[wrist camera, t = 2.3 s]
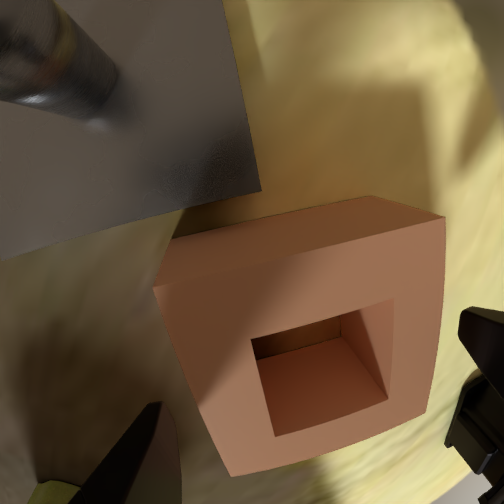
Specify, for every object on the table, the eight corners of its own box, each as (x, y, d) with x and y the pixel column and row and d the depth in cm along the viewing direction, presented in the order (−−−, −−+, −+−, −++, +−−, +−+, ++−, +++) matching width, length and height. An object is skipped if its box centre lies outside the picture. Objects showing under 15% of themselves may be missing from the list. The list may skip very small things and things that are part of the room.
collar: (371, 195, 11) (445, 217, 7) (378, 355, 13) (425, 412, 9) (170, 239, 10) (152, 287, 6) (221, 400, 12) (231, 476, 8)
